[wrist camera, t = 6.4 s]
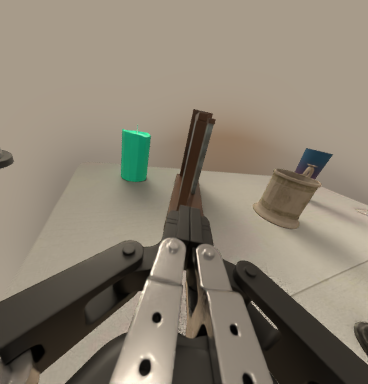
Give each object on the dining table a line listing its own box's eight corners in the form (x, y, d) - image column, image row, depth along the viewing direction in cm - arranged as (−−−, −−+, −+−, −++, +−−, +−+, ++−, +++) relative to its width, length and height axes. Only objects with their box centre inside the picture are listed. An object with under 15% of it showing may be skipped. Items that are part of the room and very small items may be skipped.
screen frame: (163, 230, 22) (190, 93, 15) (176, 178, 42) (190, 108, 35) (202, 238, 23) (248, 108, 15) (196, 183, 43) (215, 114, 35)
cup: (309, 199, 51) (338, 155, 45) (295, 198, 49) (324, 152, 42) (291, 190, 57) (314, 150, 50) (278, 188, 54) (301, 146, 48)
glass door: (173, 222, 22) (198, 111, 16) (178, 189, 32) (195, 114, 26) (181, 224, 22) (209, 114, 16) (184, 191, 32) (202, 116, 26)
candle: (121, 181, 34) (123, 123, 29) (120, 171, 38) (121, 120, 33) (148, 182, 36) (154, 129, 31) (144, 172, 41) (149, 125, 36)
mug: (288, 233, 29) (326, 175, 24) (245, 206, 36) (267, 156, 30) (311, 218, 37) (343, 173, 32) (272, 198, 44) (294, 158, 39)
